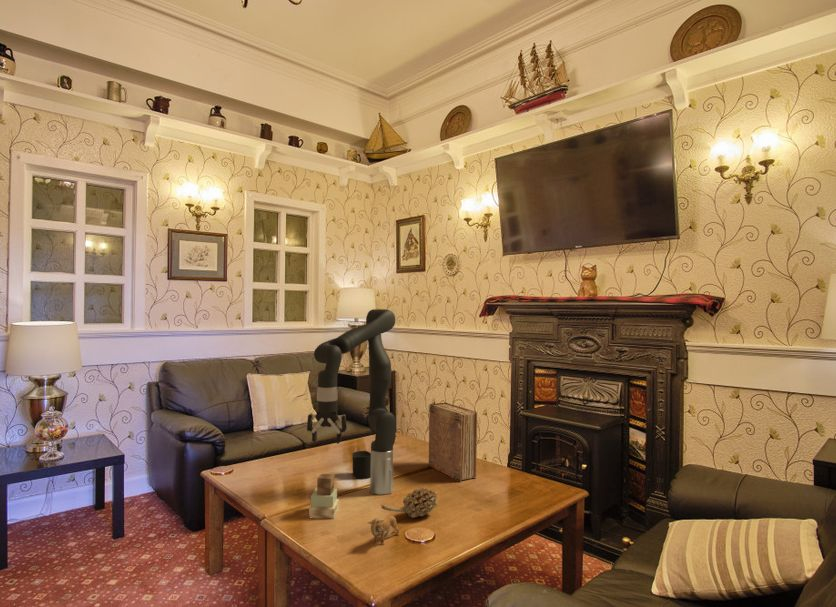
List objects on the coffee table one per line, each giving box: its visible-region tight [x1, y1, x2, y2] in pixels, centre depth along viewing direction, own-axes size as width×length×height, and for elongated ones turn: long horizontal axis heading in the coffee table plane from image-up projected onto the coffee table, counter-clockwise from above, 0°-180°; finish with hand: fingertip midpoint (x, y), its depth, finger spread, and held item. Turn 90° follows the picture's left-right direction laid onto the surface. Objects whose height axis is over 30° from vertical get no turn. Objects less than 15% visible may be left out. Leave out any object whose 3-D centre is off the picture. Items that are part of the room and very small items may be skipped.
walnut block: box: [316, 473, 335, 495], centre depth 184 cm, size 5×5×6 cm
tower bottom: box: [308, 498, 340, 520], centre depth 184 cm, size 9×9×4 cm
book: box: [428, 402, 478, 483], centre depth 233 cm, size 25×9×30 cm, turn 32°
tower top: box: [310, 487, 338, 508], centre depth 185 cm, size 8×8×4 cm
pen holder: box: [351, 450, 371, 480], centre depth 226 cm, size 9×9×10 cm
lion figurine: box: [370, 515, 400, 546], centre depth 164 cm, size 15×5×9 cm, turn 155°
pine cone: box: [380, 487, 439, 519], centre depth 182 cm, size 22×10×10 cm, turn 115°
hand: (326, 442), depth 184 cm, fingers open, 8 cm apart
